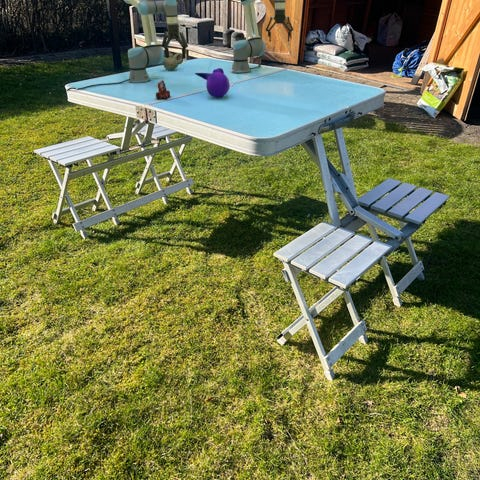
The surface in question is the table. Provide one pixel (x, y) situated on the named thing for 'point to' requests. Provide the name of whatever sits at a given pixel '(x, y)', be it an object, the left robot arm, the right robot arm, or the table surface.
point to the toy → (216, 82)
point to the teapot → (172, 61)
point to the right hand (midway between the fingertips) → (279, 41)
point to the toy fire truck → (162, 91)
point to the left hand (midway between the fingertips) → (175, 58)
